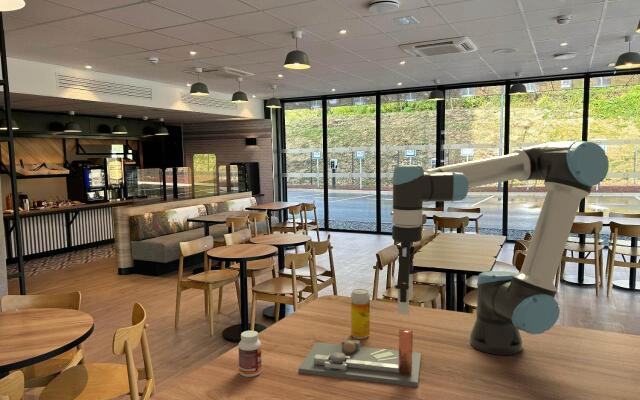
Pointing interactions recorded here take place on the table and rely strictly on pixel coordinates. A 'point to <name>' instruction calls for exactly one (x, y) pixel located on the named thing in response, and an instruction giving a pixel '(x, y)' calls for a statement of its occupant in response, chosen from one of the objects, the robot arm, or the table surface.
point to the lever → (402, 367)
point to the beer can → (360, 313)
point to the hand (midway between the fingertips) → (405, 305)
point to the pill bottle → (250, 354)
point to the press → (361, 354)
